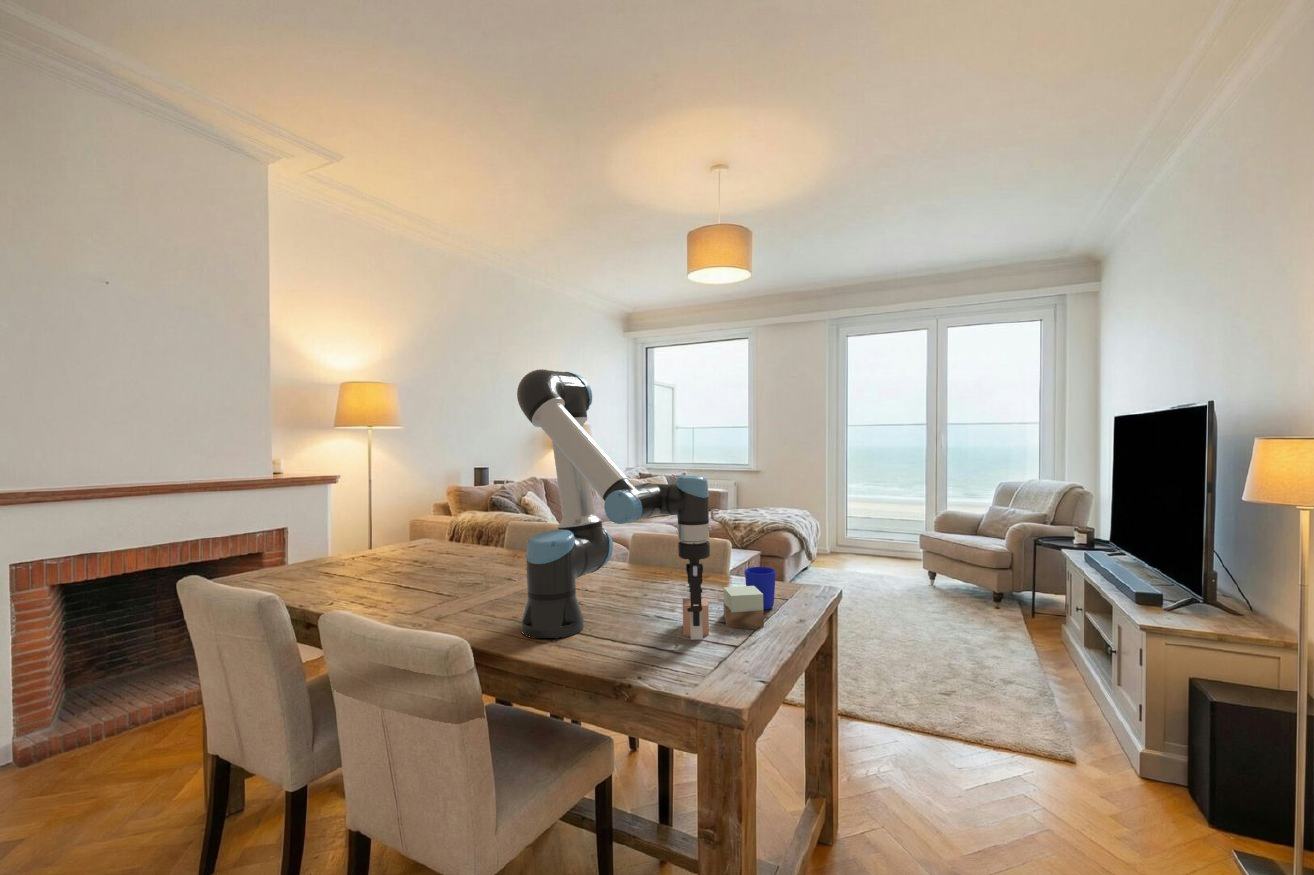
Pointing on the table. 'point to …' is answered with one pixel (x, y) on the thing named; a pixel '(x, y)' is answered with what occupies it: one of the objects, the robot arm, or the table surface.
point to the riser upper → (743, 599)
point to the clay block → (687, 616)
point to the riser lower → (743, 618)
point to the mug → (762, 583)
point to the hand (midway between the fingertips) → (696, 629)
